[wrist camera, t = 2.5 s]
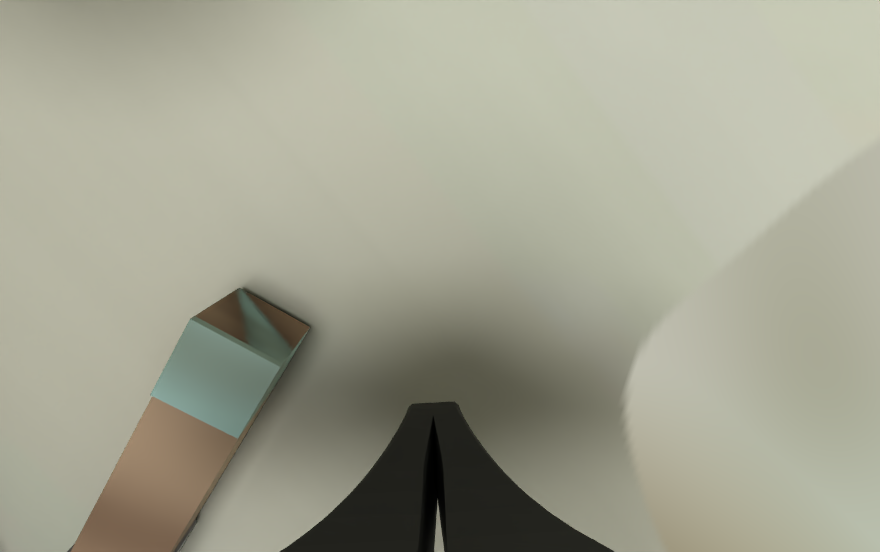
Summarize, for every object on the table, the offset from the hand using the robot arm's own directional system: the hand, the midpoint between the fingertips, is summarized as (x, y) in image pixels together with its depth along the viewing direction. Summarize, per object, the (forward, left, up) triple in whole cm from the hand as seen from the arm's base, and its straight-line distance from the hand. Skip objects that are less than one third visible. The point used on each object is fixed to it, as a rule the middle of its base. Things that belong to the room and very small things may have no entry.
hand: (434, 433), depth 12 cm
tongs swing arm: (-3, +9, -2) cm, 10 cm away
